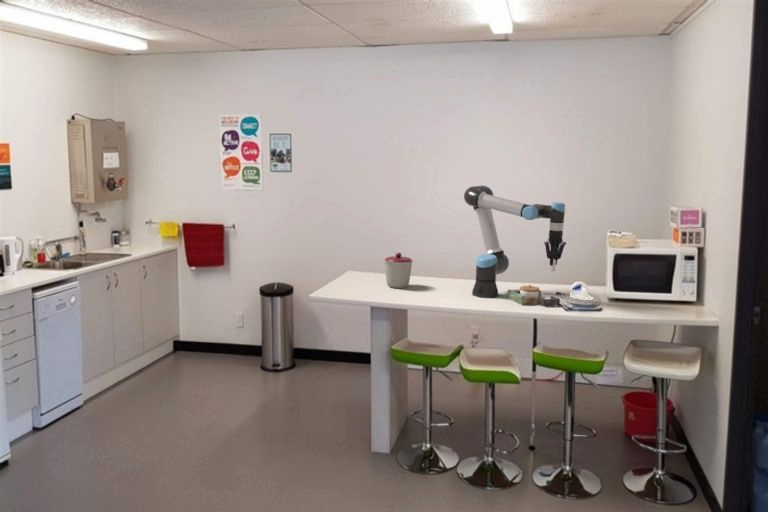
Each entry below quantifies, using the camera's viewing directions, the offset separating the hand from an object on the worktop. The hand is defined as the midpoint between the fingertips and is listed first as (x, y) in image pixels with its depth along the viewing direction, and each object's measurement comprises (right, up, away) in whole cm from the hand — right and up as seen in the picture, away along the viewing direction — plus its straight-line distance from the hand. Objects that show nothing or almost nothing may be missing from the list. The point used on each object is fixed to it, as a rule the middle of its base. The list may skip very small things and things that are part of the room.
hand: (552, 270), depth 384 cm
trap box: (-12, -17, -1) cm, 21 cm away
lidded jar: (-14, -17, -2) cm, 22 cm away
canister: (-88, -11, +30) cm, 93 cm away
